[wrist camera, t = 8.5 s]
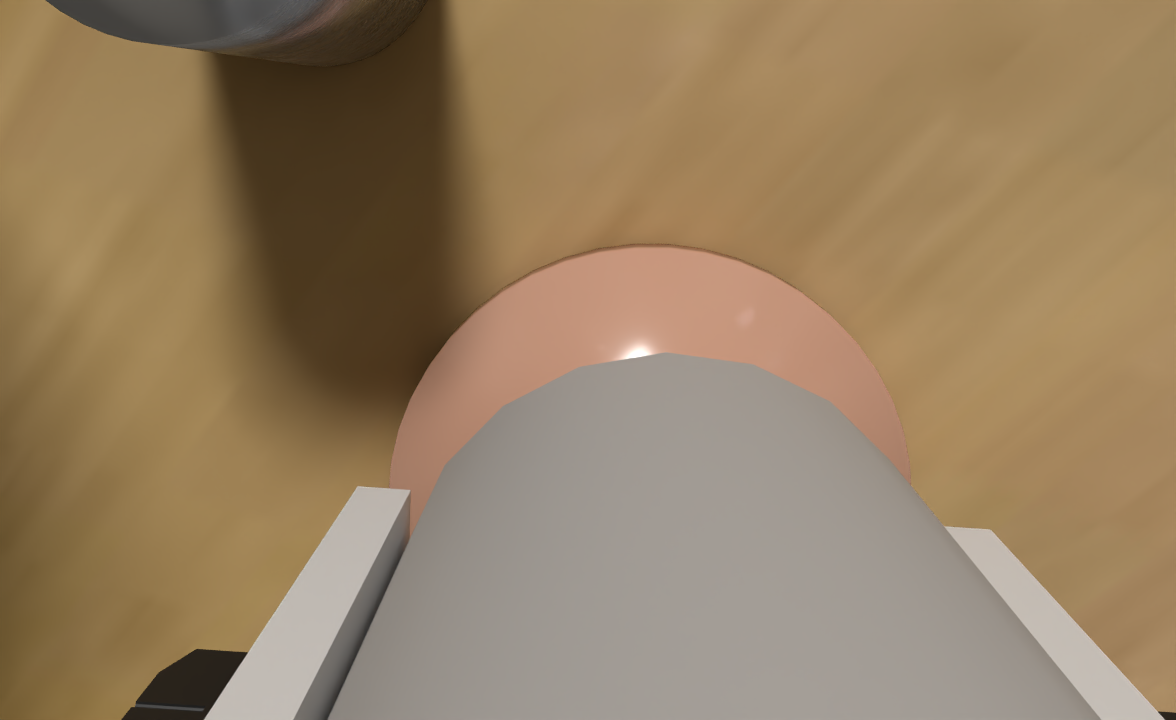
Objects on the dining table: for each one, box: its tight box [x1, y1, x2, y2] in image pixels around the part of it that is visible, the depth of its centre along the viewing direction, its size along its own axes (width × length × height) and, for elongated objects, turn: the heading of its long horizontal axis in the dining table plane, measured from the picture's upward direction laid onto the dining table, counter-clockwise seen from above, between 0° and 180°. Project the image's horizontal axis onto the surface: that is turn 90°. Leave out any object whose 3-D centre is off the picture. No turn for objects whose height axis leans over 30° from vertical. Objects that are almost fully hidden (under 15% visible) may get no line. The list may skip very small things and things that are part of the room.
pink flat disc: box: [389, 244, 911, 537], centre depth 18 cm, size 9×9×1 cm
